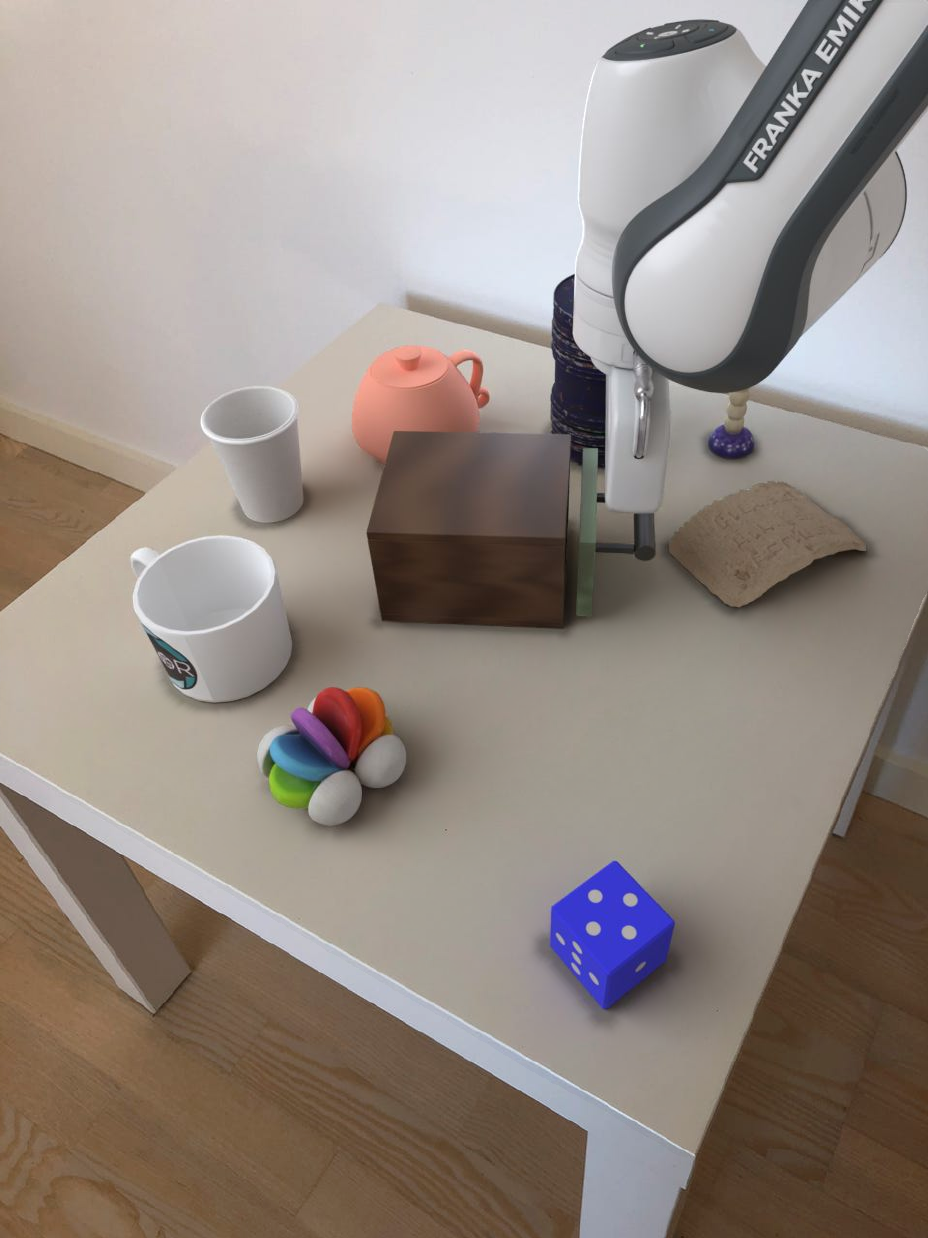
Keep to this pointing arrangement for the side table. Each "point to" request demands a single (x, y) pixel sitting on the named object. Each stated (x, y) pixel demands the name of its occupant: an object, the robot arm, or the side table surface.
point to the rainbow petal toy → (332, 754)
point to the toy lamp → (733, 430)
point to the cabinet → (472, 528)
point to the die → (610, 933)
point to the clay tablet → (757, 540)
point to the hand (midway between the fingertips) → (625, 479)
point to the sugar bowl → (416, 396)
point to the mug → (213, 615)
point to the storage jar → (575, 383)
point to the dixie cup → (258, 449)
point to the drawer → (587, 534)
